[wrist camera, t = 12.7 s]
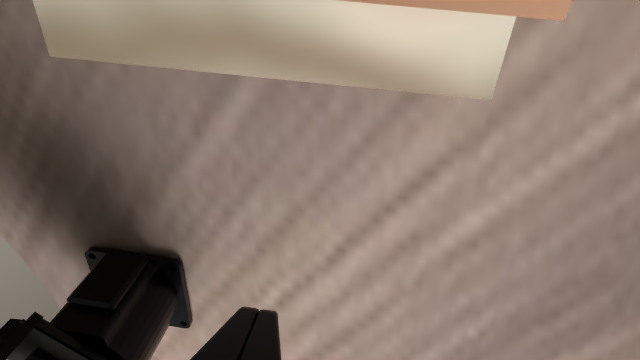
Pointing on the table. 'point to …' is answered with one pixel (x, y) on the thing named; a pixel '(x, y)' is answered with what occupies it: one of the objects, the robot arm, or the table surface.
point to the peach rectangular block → (490, 6)
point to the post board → (289, 41)
